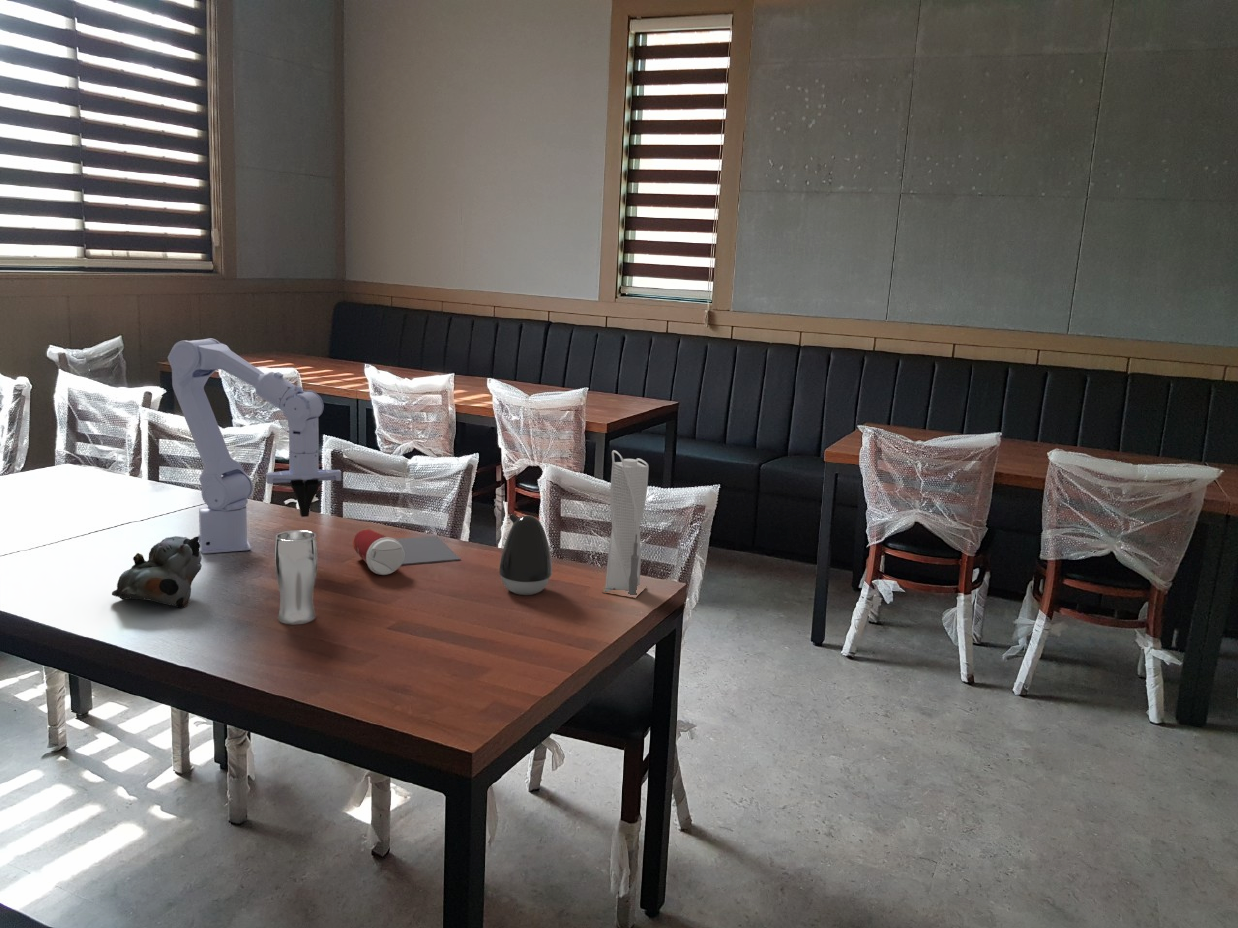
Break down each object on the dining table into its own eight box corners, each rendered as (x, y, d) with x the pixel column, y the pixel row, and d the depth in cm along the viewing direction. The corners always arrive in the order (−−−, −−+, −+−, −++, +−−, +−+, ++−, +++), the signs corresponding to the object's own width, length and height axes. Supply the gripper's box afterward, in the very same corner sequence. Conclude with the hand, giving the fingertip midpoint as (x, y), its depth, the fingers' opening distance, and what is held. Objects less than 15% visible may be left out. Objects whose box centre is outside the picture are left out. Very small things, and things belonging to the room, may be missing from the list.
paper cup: (342, 555, 196) (363, 572, 185) (353, 520, 197) (374, 534, 185) (378, 563, 201) (400, 579, 189) (388, 528, 201) (411, 543, 189)
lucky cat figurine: (107, 595, 169) (137, 521, 172) (176, 614, 174) (204, 542, 178) (115, 597, 156) (147, 518, 160) (189, 617, 162) (219, 540, 166)
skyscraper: (595, 591, 187) (603, 453, 181) (609, 580, 194) (617, 446, 189) (635, 598, 184) (644, 458, 178) (648, 586, 191) (657, 451, 186)
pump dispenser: (527, 578, 192) (531, 506, 189) (561, 592, 185) (565, 518, 182) (487, 588, 185) (490, 513, 182) (520, 603, 178) (523, 525, 175)
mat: (375, 567, 193) (375, 566, 193) (357, 543, 209) (357, 541, 209) (460, 560, 201) (460, 558, 201) (436, 537, 217) (436, 535, 217)
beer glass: (293, 629, 159) (292, 543, 156) (266, 619, 162) (265, 535, 159) (326, 617, 165) (326, 535, 162) (299, 608, 168) (298, 527, 165)
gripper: (268, 456, 186) (269, 522, 188) (344, 453, 192) (344, 518, 195) (264, 449, 192) (265, 513, 195) (337, 447, 198) (337, 509, 201)
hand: (304, 515), depth 195 cm, fingers closed
